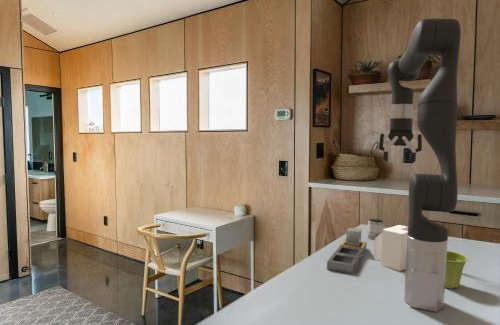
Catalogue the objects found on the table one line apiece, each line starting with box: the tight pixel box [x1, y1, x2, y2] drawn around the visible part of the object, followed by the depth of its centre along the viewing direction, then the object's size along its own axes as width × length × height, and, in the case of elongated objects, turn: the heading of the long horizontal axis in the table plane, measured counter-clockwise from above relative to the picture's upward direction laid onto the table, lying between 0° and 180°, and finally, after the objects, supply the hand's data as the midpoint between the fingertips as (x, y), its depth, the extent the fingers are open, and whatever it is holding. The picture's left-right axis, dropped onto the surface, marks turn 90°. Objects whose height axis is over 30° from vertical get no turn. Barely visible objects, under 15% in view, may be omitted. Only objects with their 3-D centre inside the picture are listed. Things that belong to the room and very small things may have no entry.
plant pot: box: [445, 250, 468, 289], centre depth 105 cm, size 9×9×9 cm
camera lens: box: [367, 218, 385, 240], centre depth 152 cm, size 6×6×8 cm
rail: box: [326, 239, 368, 275], centre depth 127 cm, size 28×8×3 cm, turn 154°
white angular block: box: [373, 224, 408, 272], centre depth 123 cm, size 11×11×12 cm
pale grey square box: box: [345, 227, 362, 248], centre depth 135 cm, size 4×4×8 cm
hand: (399, 162), depth 132 cm, fingers open, 8 cm apart
